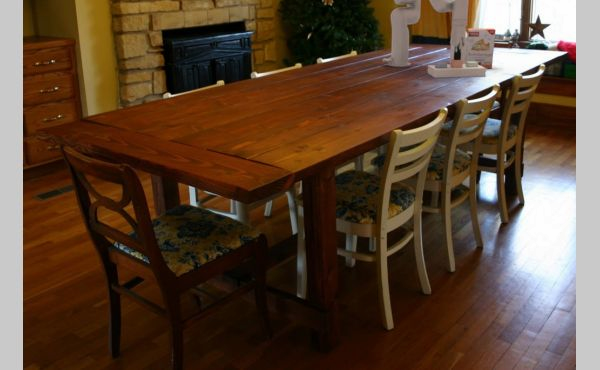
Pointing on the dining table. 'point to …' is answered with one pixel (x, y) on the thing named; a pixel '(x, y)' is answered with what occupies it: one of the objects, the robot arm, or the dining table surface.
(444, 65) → the key slate
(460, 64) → the key terracotta
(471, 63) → the key sage
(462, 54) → the milk carton
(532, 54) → the dining table surface
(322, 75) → the dining table surface
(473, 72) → the white rectangular tray
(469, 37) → the cracker box
